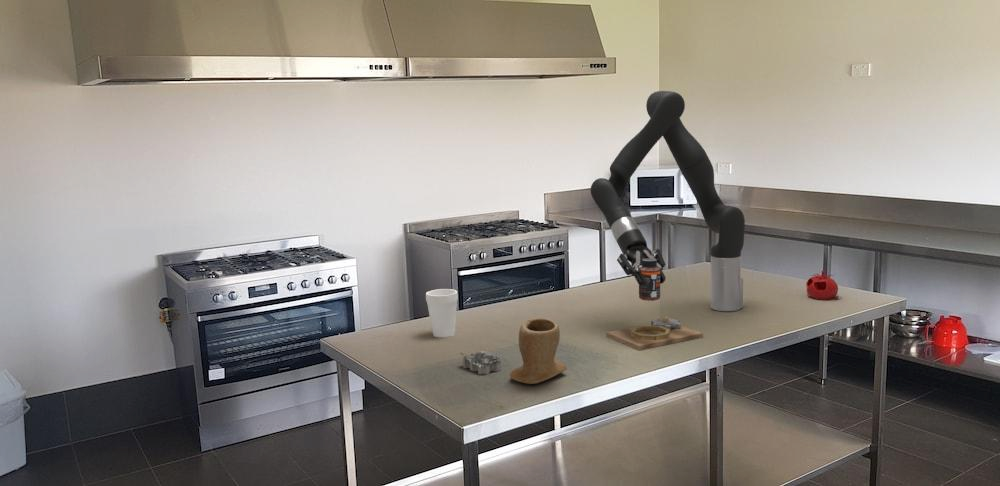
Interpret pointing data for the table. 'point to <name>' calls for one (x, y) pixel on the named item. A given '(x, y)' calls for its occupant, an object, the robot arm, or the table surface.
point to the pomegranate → (821, 287)
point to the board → (654, 334)
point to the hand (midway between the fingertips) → (653, 283)
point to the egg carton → (482, 362)
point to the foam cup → (442, 311)
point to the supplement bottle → (650, 280)
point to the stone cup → (538, 351)
